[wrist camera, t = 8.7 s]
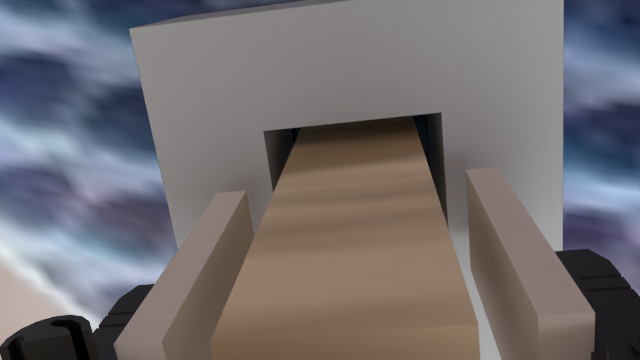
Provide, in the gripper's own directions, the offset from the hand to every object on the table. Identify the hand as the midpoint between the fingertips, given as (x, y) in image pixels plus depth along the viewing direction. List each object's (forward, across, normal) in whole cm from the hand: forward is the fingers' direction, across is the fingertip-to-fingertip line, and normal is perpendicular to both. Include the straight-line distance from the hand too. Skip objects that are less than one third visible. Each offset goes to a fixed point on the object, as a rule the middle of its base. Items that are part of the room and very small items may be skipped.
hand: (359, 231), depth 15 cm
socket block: (+7, 0, 0) cm, 7 cm away
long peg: (+7, 0, 0) cm, 7 cm away
